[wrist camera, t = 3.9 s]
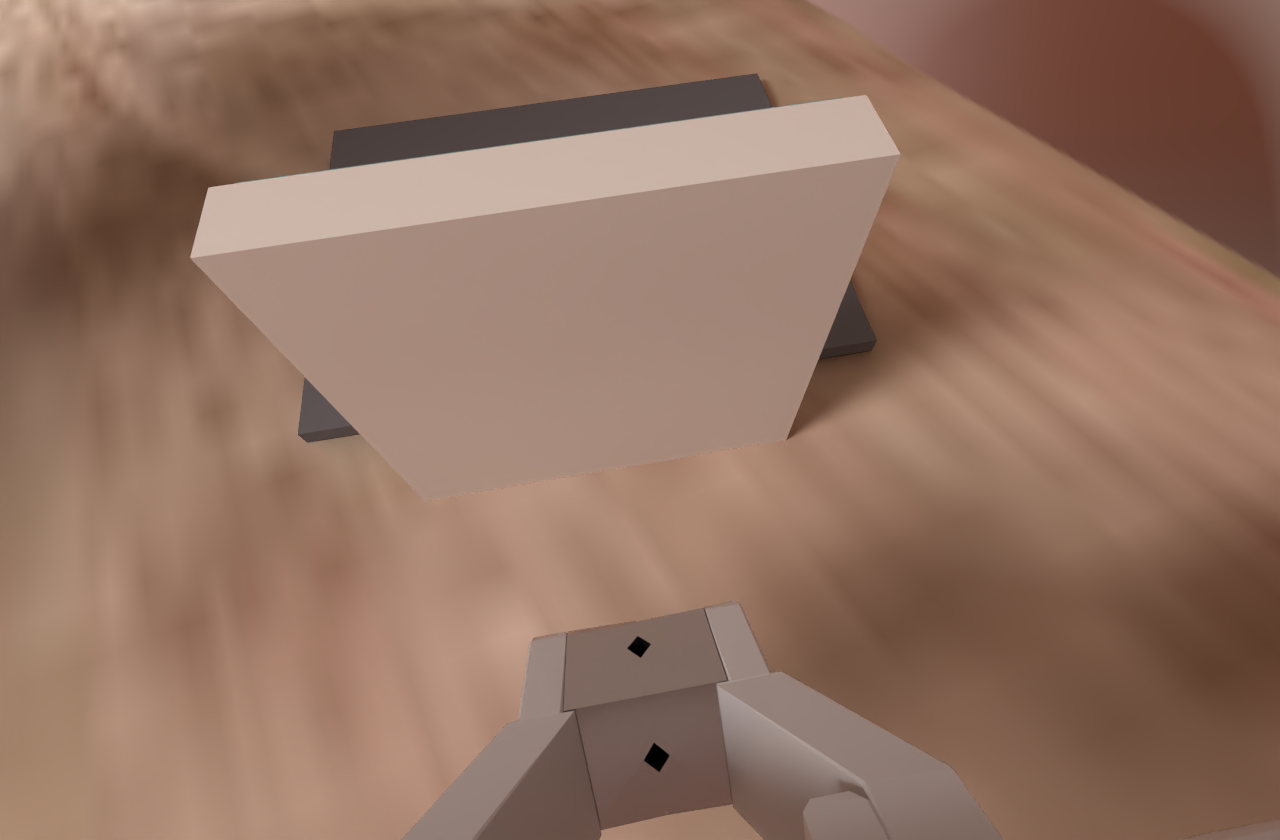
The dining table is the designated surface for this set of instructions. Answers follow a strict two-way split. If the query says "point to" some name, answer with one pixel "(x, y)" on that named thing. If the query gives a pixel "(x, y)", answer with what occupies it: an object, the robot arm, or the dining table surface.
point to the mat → (550, 123)
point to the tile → (562, 288)
